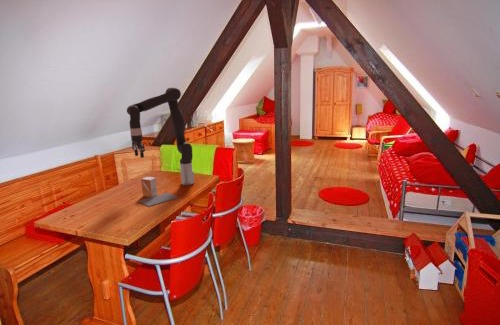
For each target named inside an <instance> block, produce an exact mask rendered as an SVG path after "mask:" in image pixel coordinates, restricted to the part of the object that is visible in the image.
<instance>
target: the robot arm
mask: <svg viewBox="0 0 500 325" xmlns="http://www.w3.org/2000/svg"><path fill="white" fill-rule="evenodd" d="M181 96H182V93H181V90H180V89H179V88H177V87H168V88H167V89H166V90H165V93H163V94H160V95H157V96H152V97H149V98H147V99H145V100H142V101H140V102H137V103H134V104H130V105H128V107H126V113H127V114H128V115H129V131H130V139H131V148H132V150H133V151H134V156H135V157H138V156H140V158H141V159H142V158H144V157H145V156H144V154H145V153H144V152H145V151H146V149H145V144H144V143H142V142H143V140H144V138H143V130H142V127H141V112H142V113H143V112H147V111H149V110H152V109H154V108H156V107H159V106H162V105H163V104H166V103H167V104H168V107H169V112H170V113H169V114H170V118H171V123H172V128H173V131H174V135H175V141H176V149H177V151H178V153H180V154H181V158H180V159H179V166H180V167H179V168H180V179H181V185H182V186H190V185H193V184H194V183H195V175H194V174H195V172H194V170H193V146H192V145H191V144H190V143H189V142H187V141H186V136H185V135H186V134H185V132H186V122H185V117H184V115H183V111H182V110H181V107H180V106H179V102H178V100H179V99H180V98H181Z"/></svg>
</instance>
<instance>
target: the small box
mask: <svg viewBox="0 0 500 325" xmlns="http://www.w3.org/2000/svg"><path fill="white" fill-rule="evenodd" d="M140 180H141V188H142V189H141V190H142V196H143V197H146V198H147V197H148V198H150V197H154V196H158V187H157V177H153V176H145V177H143V178H141V179H140Z"/></svg>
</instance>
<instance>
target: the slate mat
mask: <svg viewBox="0 0 500 325" xmlns="http://www.w3.org/2000/svg"><path fill="white" fill-rule="evenodd" d="M175 199H176V200H177V199H179V197H178V196H177V195H174V194H172V193H170V192H164V193H161V194H157V195H156V196H154V197H148V198H147V197H146V198H144V199H141V200H139V201H138V202H139V203H141V204H142V205H145V206H146V207H148V208H149V207H150V208H151V207H152V206H156V205H160V204H163V203H166V202H169V201H172V200H173V201H174V200H175Z"/></svg>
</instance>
